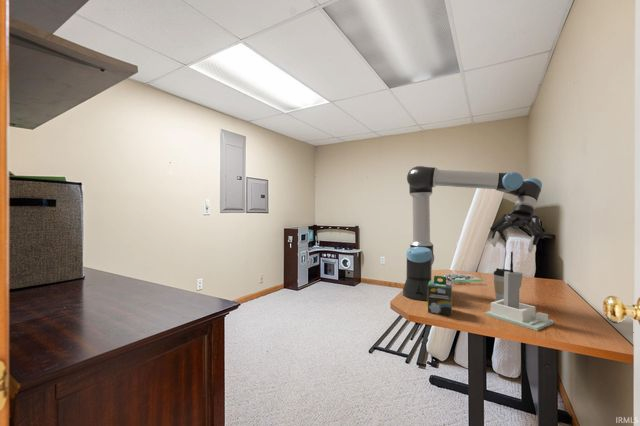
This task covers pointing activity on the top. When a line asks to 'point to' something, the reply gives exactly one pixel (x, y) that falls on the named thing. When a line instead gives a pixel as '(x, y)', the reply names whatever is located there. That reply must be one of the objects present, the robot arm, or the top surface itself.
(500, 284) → the coffee cup
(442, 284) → the chalk box
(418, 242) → the robot arm
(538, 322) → the architectural building model
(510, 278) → the vintage mobile phone
